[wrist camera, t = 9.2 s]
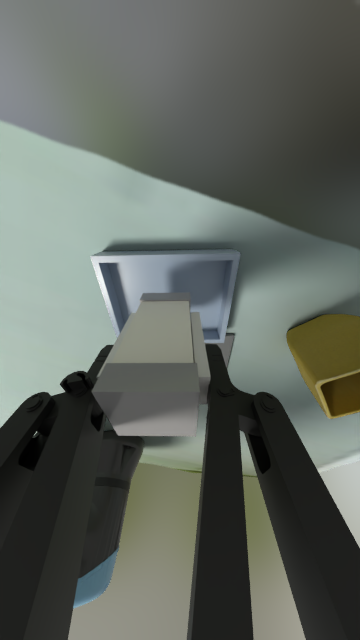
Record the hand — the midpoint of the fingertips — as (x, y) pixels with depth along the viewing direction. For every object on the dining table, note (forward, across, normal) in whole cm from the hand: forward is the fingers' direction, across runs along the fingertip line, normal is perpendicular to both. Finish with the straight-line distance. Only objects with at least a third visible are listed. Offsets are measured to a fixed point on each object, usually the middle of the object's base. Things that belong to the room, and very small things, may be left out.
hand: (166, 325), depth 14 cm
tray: (+6, 0, 0) cm, 6 cm away
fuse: (+2, 0, 0) cm, 2 cm away
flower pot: (+6, +20, -6) cm, 22 cm away
